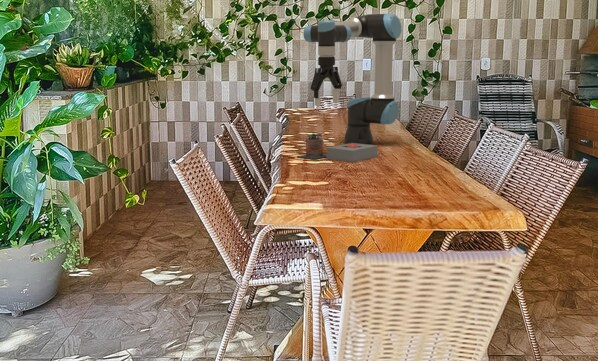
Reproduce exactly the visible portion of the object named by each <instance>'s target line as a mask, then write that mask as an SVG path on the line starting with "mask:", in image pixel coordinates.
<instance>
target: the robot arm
mask: <svg viewBox="0 0 598 361" xmlns="http://www.w3.org/2000/svg"><path fill="white" fill-rule="evenodd" d="M317 24H318V25H307V26H305V27H304V29H303V39H304V41H305V42H307V43H317V46H318V47H317V50H318V51H317V54H318V58H317V64H318V66H319V67H315V68H314V75H313V77H312V78H313V79H312V82H311V85H310V90H311V91H313V99H314V101H313V102H314V104H313V105H314V107H315V106H316V107H320V106H321V90H320V89H321V87H322V85H323V83H324V81H325V80H326V79H327V78H328V80H329V81H330V82H331V85H332V87H333V88H332V104H339V103H340V102H339V100H340V99H339V96H340V89H342V87H343V84H342V81H341V80H342V79H341V77H340V74H339V67H338V66H335V65H336V58H335V56H336V43H346V42H348V41H350V39H351V38H354V39H355V38H365V39H366V38H367V39H372V43H373V44H374V45H375V50H374V52H375V55H374V87H373V88H374V91H373V92H374V93H373V95H372V96H371V97H370V96H369V97H368V96H367V97H359V98H351V99H349V100H348V103H347V128H346V131H345V134H344V138H343V143H344V144H349V143H357V144H367V145H372V144H373V143H374V136H373V133H372V129H371V124H375V125H378V124H379V125H392V124H393V123H394V122H395V121H396V120H397V118H398V115H399V112H400V111H399V110H400V106H399V104H398V102H397V101H396V100H395V96H394V95H393V94H392V93H393V92H392V87H393V84H392V83H393V59H394V58H393V51H394V44H396V43H397V39H398V38H399V37H400V36H401V34H402V24H401V20H400V18H399V17H398V16H397V15H396V14H395V13H394V14H393V13H388V12H387V13H375V14H374V13H371V14H369V13H368V14H364V15H359V16H356V17H351V18H349V19H348V20H344V21H338V22H335V20H319V21H318V23H317Z"/></svg>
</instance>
